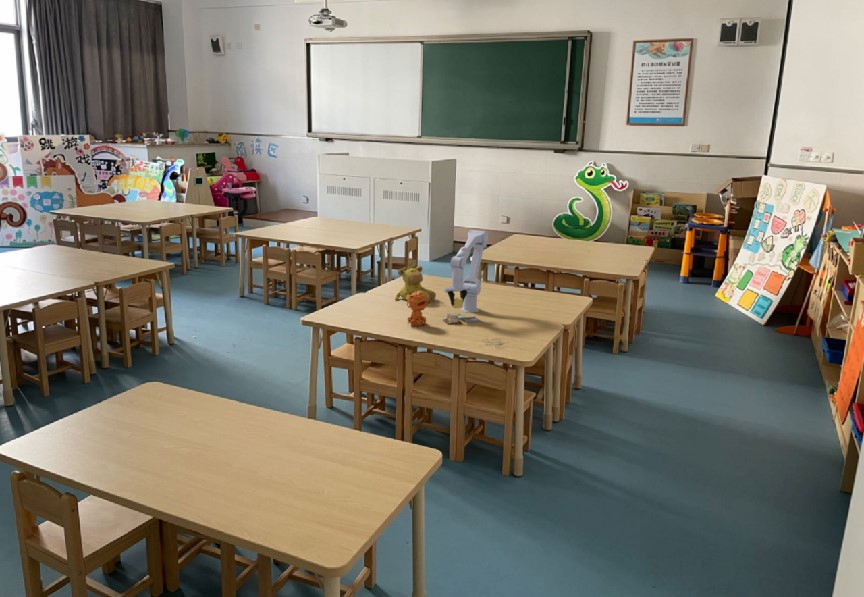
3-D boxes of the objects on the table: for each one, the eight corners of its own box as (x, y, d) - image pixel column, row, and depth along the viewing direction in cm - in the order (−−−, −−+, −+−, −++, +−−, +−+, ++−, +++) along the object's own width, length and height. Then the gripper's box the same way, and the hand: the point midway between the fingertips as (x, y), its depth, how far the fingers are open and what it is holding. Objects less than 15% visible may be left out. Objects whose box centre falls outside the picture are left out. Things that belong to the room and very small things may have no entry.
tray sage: (447, 316, 355) (447, 314, 355) (460, 315, 358) (460, 313, 357) (452, 320, 348) (452, 318, 348) (465, 319, 351) (465, 317, 351)
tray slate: (461, 319, 350) (461, 317, 350) (474, 318, 353) (475, 316, 352) (467, 323, 343) (467, 321, 343) (480, 322, 346) (480, 320, 346)
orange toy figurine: (429, 327, 335) (430, 293, 330) (408, 328, 333) (408, 293, 329) (426, 321, 346) (427, 287, 341) (405, 321, 344) (405, 288, 339)
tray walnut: (442, 321, 347) (443, 319, 346) (456, 319, 349) (456, 318, 349) (448, 325, 340) (448, 323, 340) (461, 324, 342) (461, 322, 342)
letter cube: (451, 306, 353) (451, 297, 352) (459, 305, 354) (459, 296, 353) (454, 308, 349) (454, 299, 348) (462, 307, 350) (462, 299, 349)
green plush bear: (421, 306, 372) (422, 273, 367) (386, 300, 384) (386, 267, 379) (440, 299, 389) (441, 266, 384) (406, 293, 401) (406, 261, 396)
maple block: (446, 321, 346) (446, 312, 345) (454, 320, 347) (455, 312, 346) (449, 323, 342) (450, 315, 341) (458, 322, 343) (458, 314, 342)
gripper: (447, 282, 342) (446, 307, 345) (473, 280, 346) (472, 305, 350) (442, 278, 348) (441, 304, 352) (468, 277, 353) (467, 302, 356)
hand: (456, 304), depth 351 cm, fingers closed on letter cube, 4 cm apart
